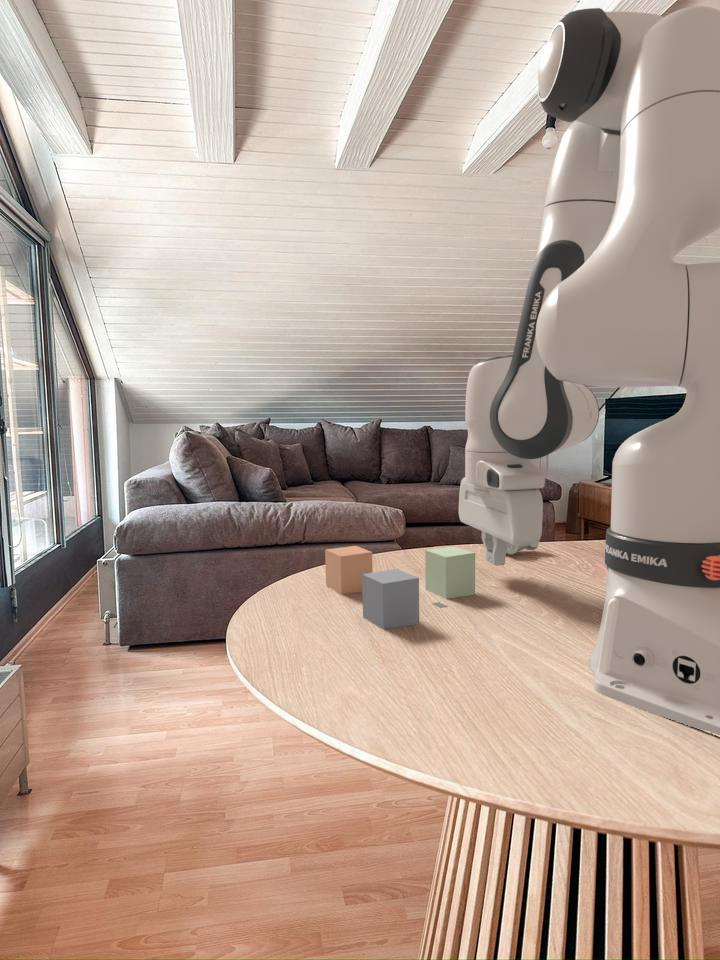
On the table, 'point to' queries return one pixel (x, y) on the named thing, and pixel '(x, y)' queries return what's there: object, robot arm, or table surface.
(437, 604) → the small gray-green block
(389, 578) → the slate block
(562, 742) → the table surface
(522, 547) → the pipe fitting
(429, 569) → the sage block
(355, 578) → the terracotta block
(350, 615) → the table surface
